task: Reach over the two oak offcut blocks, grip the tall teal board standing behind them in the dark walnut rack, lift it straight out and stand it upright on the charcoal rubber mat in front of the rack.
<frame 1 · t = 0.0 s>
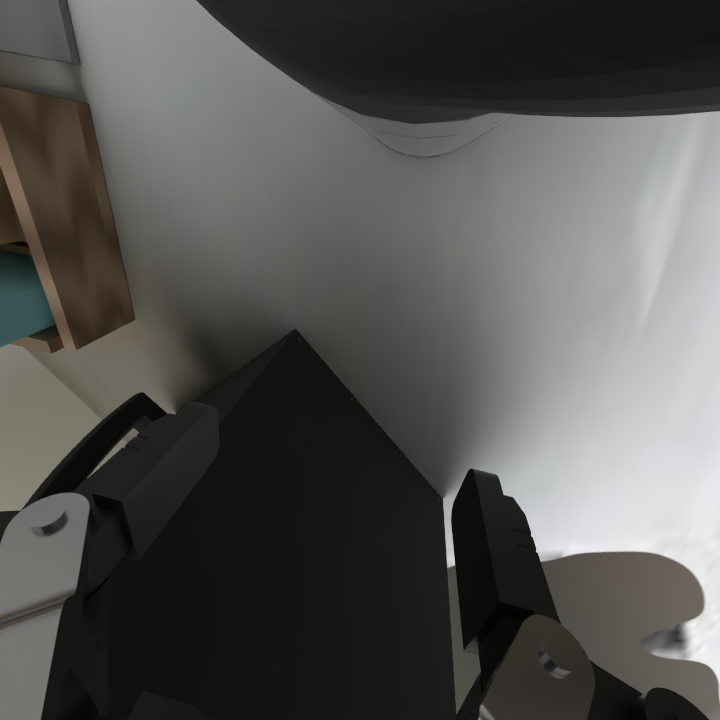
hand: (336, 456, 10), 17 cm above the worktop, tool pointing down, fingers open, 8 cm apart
coffee maker: (296, 443, 35), on the worktop
walnut rack: (46, 214, 27), on the worktop
teal board: (53, 275, 28), point 1 cm above the worktop, touching walnut rack
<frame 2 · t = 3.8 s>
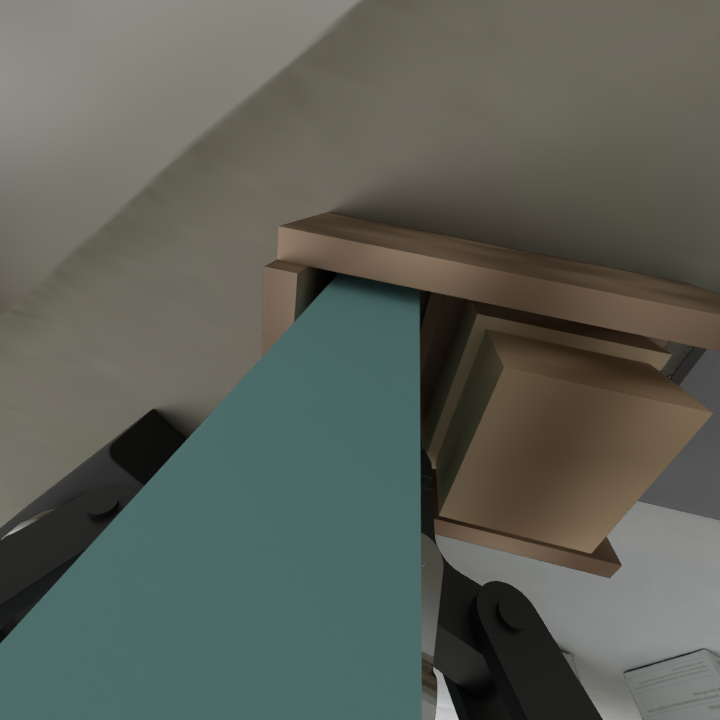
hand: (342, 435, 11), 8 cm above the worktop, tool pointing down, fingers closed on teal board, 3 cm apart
coffee maker: (173, 524, 30), on the worktop
walnut rack: (459, 361, 18), on the worktop
teal board: (369, 350, 17), point 1 cm above the worktop, touching gripper, walnut rack
upper offcut: (528, 418, 14), point 4 cm above the worktop, touching lower offcut
lower offcut: (511, 382, 17), point 1 cm above the worktop, touching upper offcut, walnut rack
supplement box: (689, 674, 28), on the worktop
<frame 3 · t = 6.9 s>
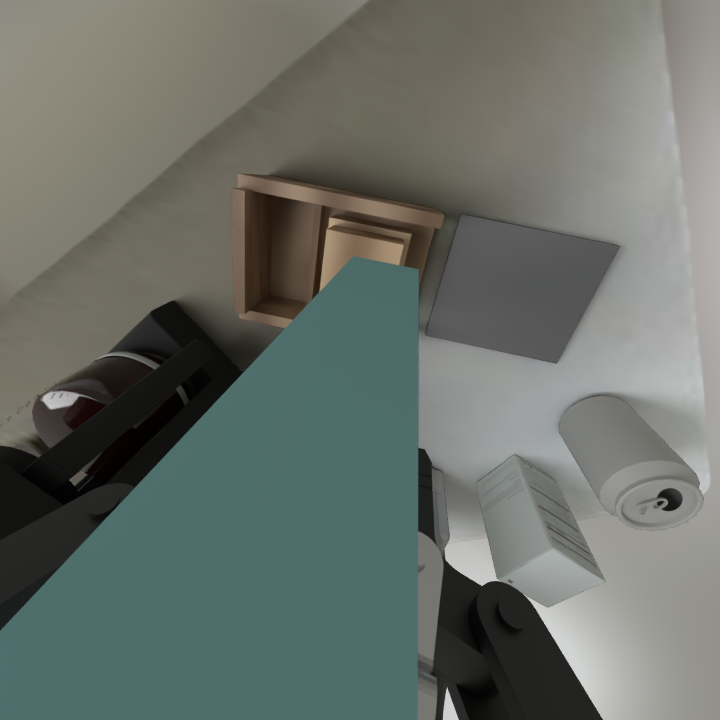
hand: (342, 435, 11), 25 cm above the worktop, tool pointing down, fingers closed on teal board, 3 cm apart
charcoal mat: (511, 293, 32), on the worktop
coffee maker: (182, 393, 45), on the worktop
walnut rack: (342, 258, 33), on the worktop
teal board: (368, 350, 17), point 18 cm above the worktop, touching gripper
can: (590, 417, 38), on the worktop
upper offcut: (362, 273, 29), point 4 cm above the worktop, touching lower offcut
lower offcut: (366, 265, 32), point 1 cm above the worktop, touching upper offcut, walnut rack
supplement box: (514, 480, 44), on the worktop
when the fingers open (9 cm above the worktop, at t = 10.1 s): teal board drops 2 cm, resting on charcoal mat.
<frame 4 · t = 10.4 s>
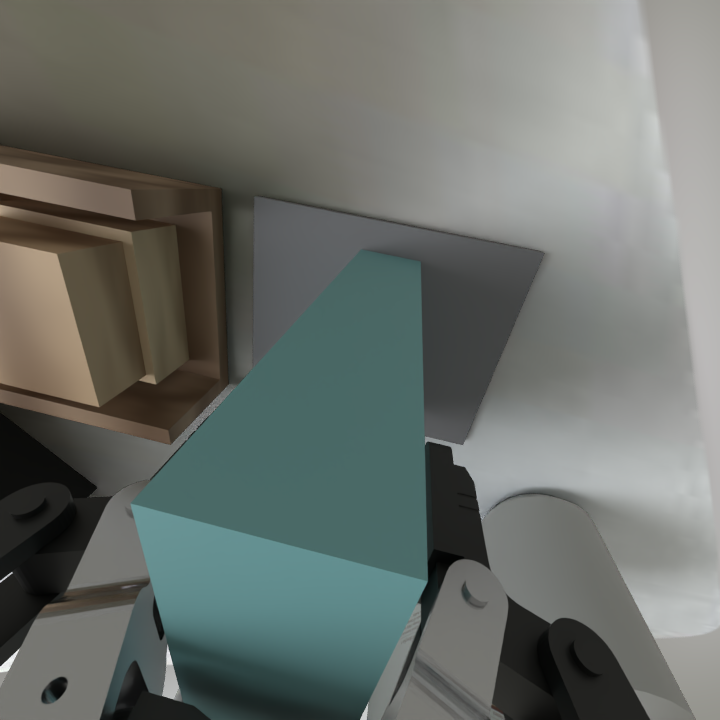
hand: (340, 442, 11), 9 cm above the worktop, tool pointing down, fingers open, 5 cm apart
charcoal mat: (373, 333, 19), on the worktop
walnut rack: (100, 273, 20), on the worktop
teal board: (373, 336, 18), point 1 cm above the worktop, touching charcoal mat
can: (530, 519, 24), on the worktop
upper offcut: (79, 302, 16), point 4 cm above the worktop, touching lower offcut
lower offcut: (125, 286, 19), point 1 cm above the worktop, touching upper offcut, walnut rack
supplement box: (432, 590, 30), on the worktop
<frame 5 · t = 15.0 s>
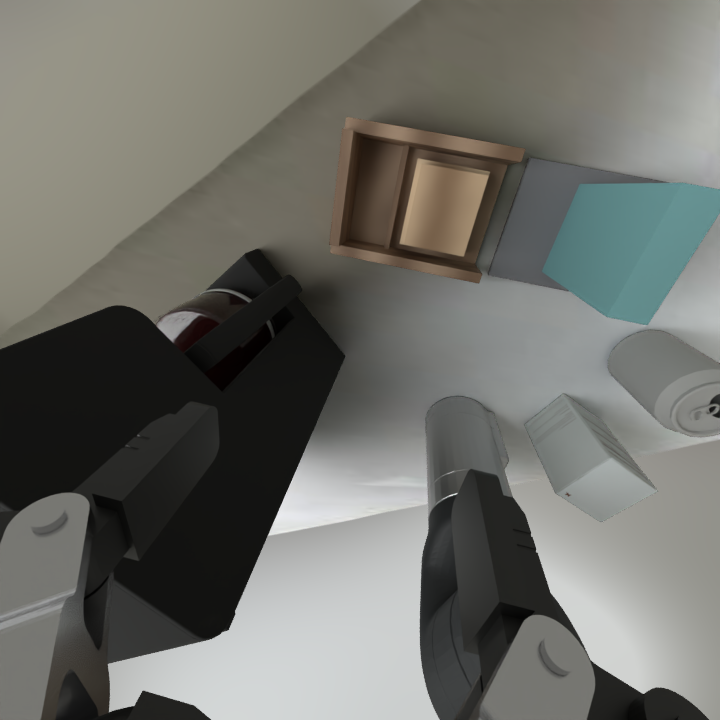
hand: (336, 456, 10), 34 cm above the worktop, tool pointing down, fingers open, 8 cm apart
charcoal mat: (570, 232, 36), on the worktop
coffee maker: (255, 340, 49), on the worktop
walnut rack: (417, 203, 37), on the worktop
teal board: (573, 233, 36), point 1 cm above the worktop, touching charcoal mat
can: (637, 354, 41), on the worktop
upper offcut: (441, 210, 34), point 4 cm above the worktop, touching lower offcut
lower offcut: (440, 208, 36), point 1 cm above the worktop, touching upper offcut, walnut rack
supplement box: (561, 420, 47), on the worktop
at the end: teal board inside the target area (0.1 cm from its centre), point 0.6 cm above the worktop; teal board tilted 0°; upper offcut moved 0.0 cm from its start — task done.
